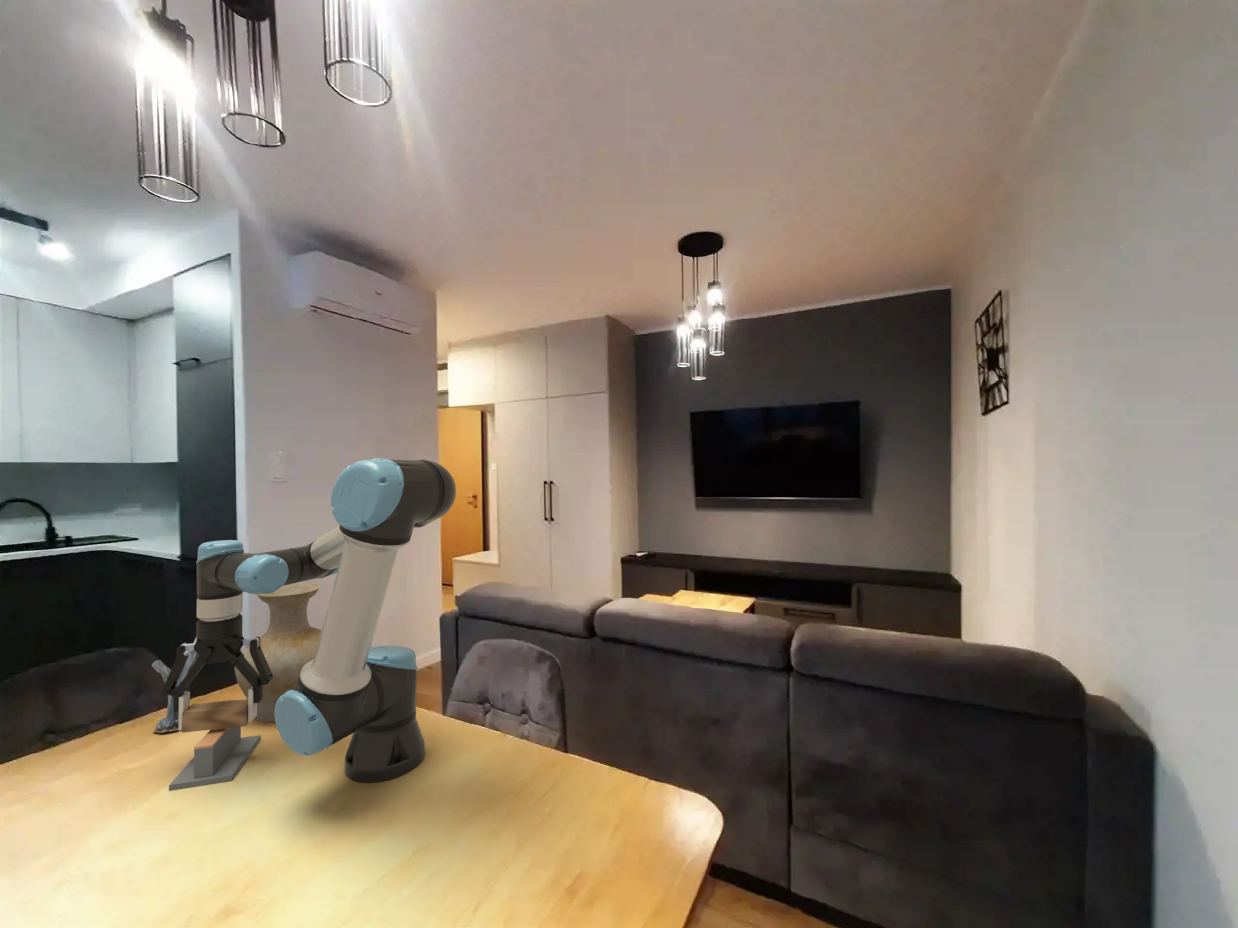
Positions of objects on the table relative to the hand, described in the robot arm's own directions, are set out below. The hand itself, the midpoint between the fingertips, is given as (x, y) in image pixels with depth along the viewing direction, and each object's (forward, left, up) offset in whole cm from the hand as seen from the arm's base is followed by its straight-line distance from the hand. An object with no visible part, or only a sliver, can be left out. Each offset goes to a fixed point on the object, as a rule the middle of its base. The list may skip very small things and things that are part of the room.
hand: (218, 722), depth 106 cm
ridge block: (0, 0, -8) cm, 8 cm away
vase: (+2, -24, -8) cm, 26 cm away
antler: (+22, -16, -8) cm, 28 cm away
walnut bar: (0, 0, 0) cm, 0 cm away
